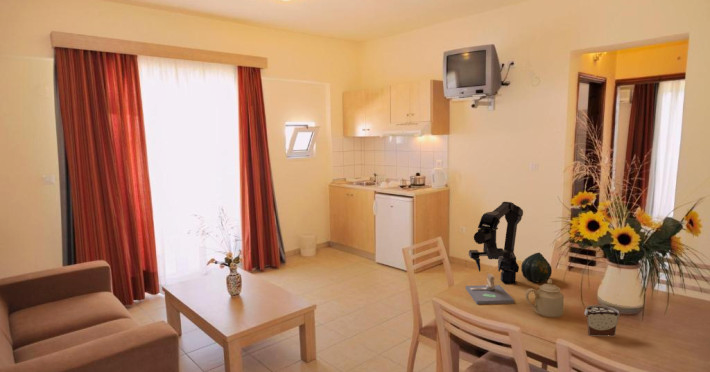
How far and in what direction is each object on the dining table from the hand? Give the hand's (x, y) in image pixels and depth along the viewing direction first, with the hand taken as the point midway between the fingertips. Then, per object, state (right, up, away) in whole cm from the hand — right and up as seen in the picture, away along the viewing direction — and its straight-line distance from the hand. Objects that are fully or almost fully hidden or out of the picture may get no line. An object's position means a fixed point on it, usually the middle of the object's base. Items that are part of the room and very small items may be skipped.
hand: (489, 271), depth 201 cm
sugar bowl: (+17, -14, -22) cm, 31 cm away
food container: (+29, -16, -40) cm, 52 cm away
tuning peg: (-3, -9, +2) cm, 10 cm away
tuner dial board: (-1, -11, -1) cm, 11 cm away
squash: (+30, -8, +18) cm, 36 cm away
